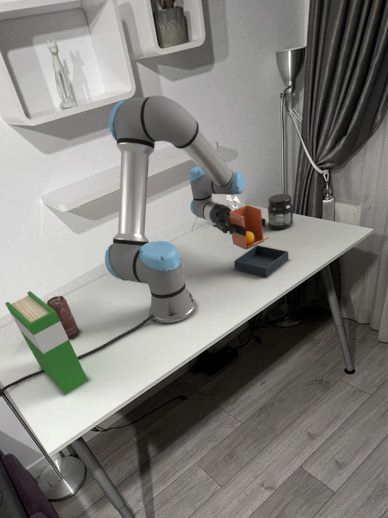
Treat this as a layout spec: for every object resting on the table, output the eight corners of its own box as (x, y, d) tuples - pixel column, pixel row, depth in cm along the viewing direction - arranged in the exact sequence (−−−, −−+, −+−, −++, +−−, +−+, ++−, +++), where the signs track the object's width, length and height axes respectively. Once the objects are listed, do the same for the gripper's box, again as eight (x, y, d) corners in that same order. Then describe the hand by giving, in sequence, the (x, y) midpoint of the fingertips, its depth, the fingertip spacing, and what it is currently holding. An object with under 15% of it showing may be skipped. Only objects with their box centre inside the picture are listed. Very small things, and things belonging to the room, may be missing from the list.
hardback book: (41, 368, 124) (4, 303, 109) (62, 356, 127) (30, 291, 112) (65, 394, 112) (28, 325, 98) (88, 380, 115) (55, 311, 101)
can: (82, 328, 138) (67, 293, 129) (76, 340, 133) (60, 304, 124) (66, 330, 139) (50, 295, 130) (59, 341, 134) (42, 306, 126)
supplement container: (284, 218, 180) (283, 191, 173) (298, 225, 172) (297, 197, 165) (264, 225, 178) (262, 198, 171) (277, 232, 170) (275, 204, 163)
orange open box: (233, 244, 148) (229, 212, 140) (250, 236, 150) (247, 204, 143) (252, 252, 139) (249, 219, 132) (270, 244, 142) (268, 211, 135)
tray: (266, 277, 143) (265, 268, 140) (235, 269, 151) (234, 261, 149) (288, 260, 150) (288, 251, 148) (257, 253, 158) (256, 245, 156)
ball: (249, 247, 145) (249, 245, 141) (239, 241, 146) (238, 238, 141) (257, 236, 144) (256, 234, 140) (246, 230, 145) (245, 227, 141)
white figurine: (233, 224, 185) (229, 198, 178) (222, 222, 190) (218, 196, 182) (244, 217, 190) (242, 191, 182) (233, 215, 194) (230, 190, 186)
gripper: (240, 214, 161) (278, 227, 144) (197, 232, 154) (232, 248, 137) (238, 195, 156) (277, 206, 140) (193, 213, 149) (229, 227, 133)
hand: (255, 227), depth 139 cm, fingers closed on orange open box, 8 cm apart
